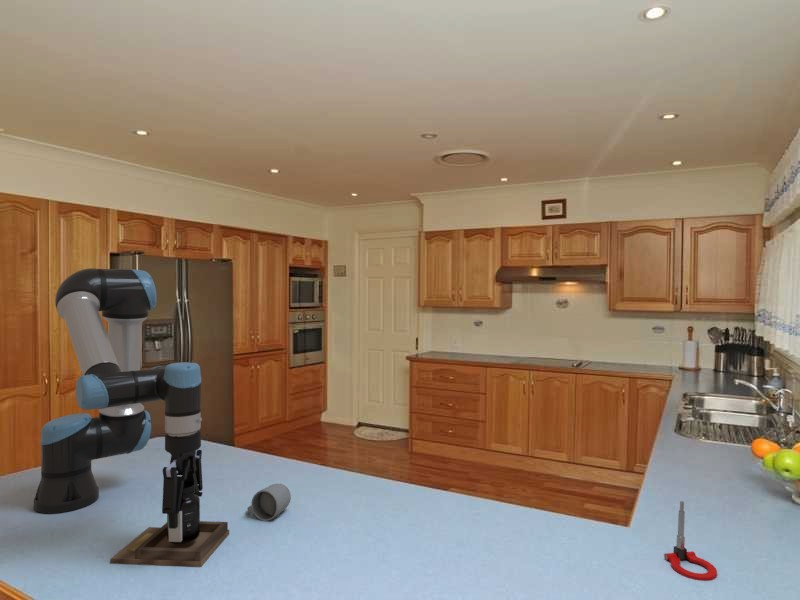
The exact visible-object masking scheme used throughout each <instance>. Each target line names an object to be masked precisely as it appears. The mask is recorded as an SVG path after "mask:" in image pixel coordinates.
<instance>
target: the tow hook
mask: <svg viewBox="0 0 800 600" xmlns="http://www.w3.org/2000/svg"><path fill="white" fill-rule="evenodd" d="M677 515H678V517H677V519H678V520H677V522H678V523H677V534H676V545H675V546H673V552H668V553H667V552H665V553H664V554H663V557H664V559H665V560H666V561H669V562H670V566H671V567H672V569H673V570H674V571H675V572H677V573H678V574H680V575H681V576H683V577H685V578H688V579H692V580H696V581H700V582H704V581H713V580H715V579H716V578H717V576H718V570H717V568H716V567H715V566H714V565H713V564H712V563H711V562H709V561H707V560H706V559H704V558H701V557H698V556H697V555H696V553H695V551H687V550H688V548H686V547H685V544H686V542H685V541H686V540H685V539H686V537H685V518H686V517H685V515H686V513H685V502H684V501H683V500H682V501H681V500H680V501H679V510H678V514H677ZM686 560H688V561H689V562H690V563H694V564H697V565H700V566H702V567H704V568H705V569H706V570H707V572H705V573H704V572H703V573H698V572H695V571H694V572H693V571H690V570H687V568H686V569H685V568H684V567H682V566H681V561H686Z"/></svg>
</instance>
